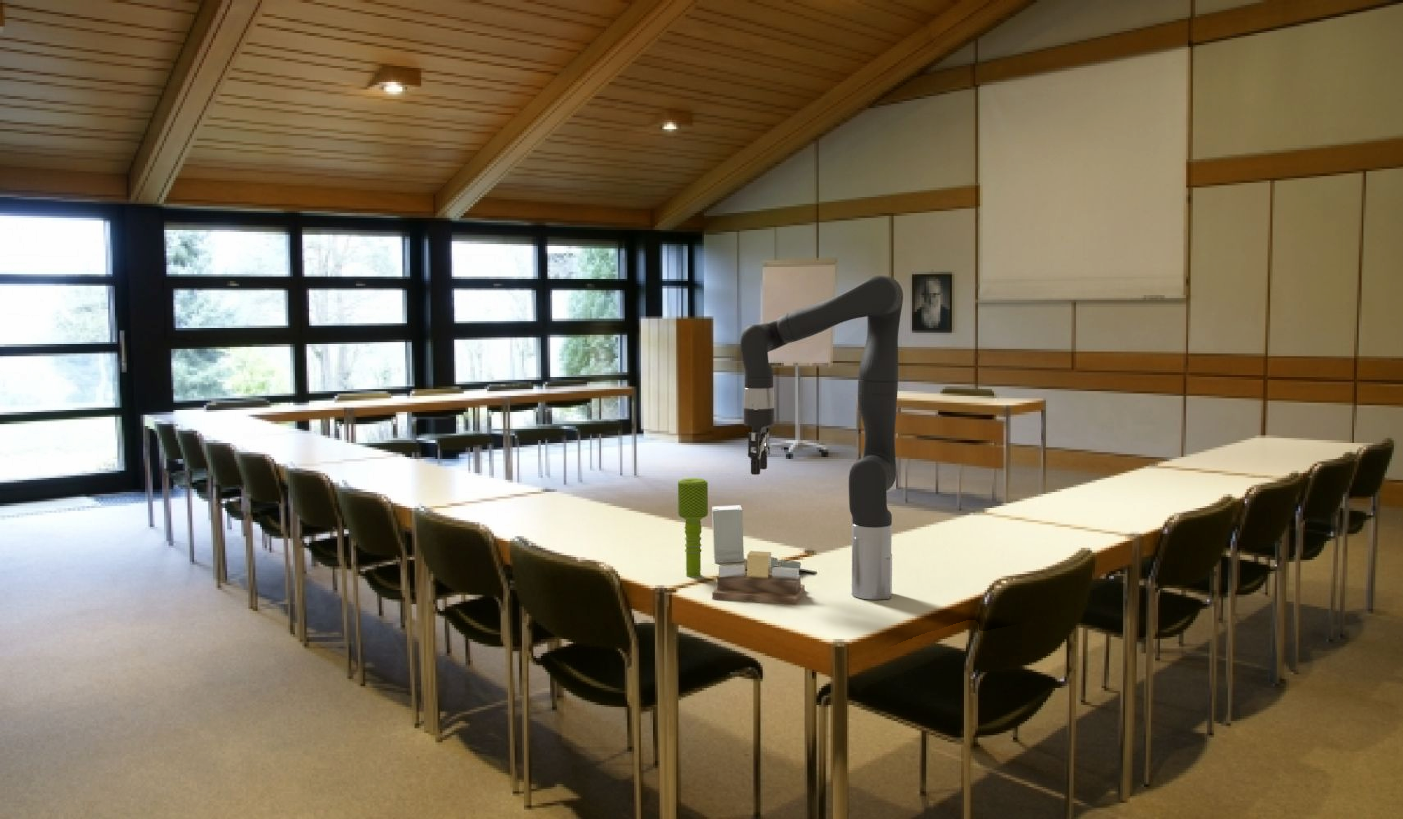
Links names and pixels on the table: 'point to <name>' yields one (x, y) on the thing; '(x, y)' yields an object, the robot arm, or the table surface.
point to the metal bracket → (787, 564)
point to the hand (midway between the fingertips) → (759, 471)
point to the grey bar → (776, 572)
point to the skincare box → (728, 533)
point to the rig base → (758, 596)
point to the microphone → (693, 519)
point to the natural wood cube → (759, 564)
